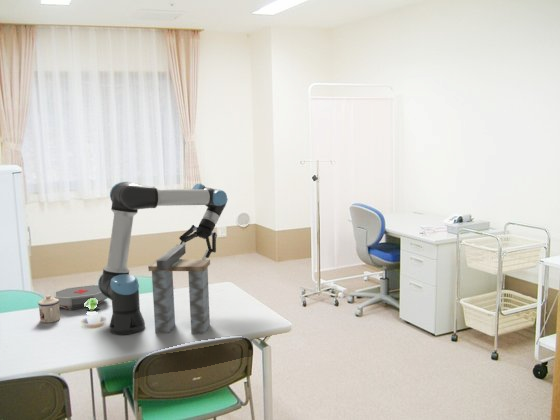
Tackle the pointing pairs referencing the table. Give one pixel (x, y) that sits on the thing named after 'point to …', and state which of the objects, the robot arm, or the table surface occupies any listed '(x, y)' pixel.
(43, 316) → the teacup with lid
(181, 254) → the dark grey bar
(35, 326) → the table surface
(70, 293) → the first aid kit
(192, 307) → the bench
